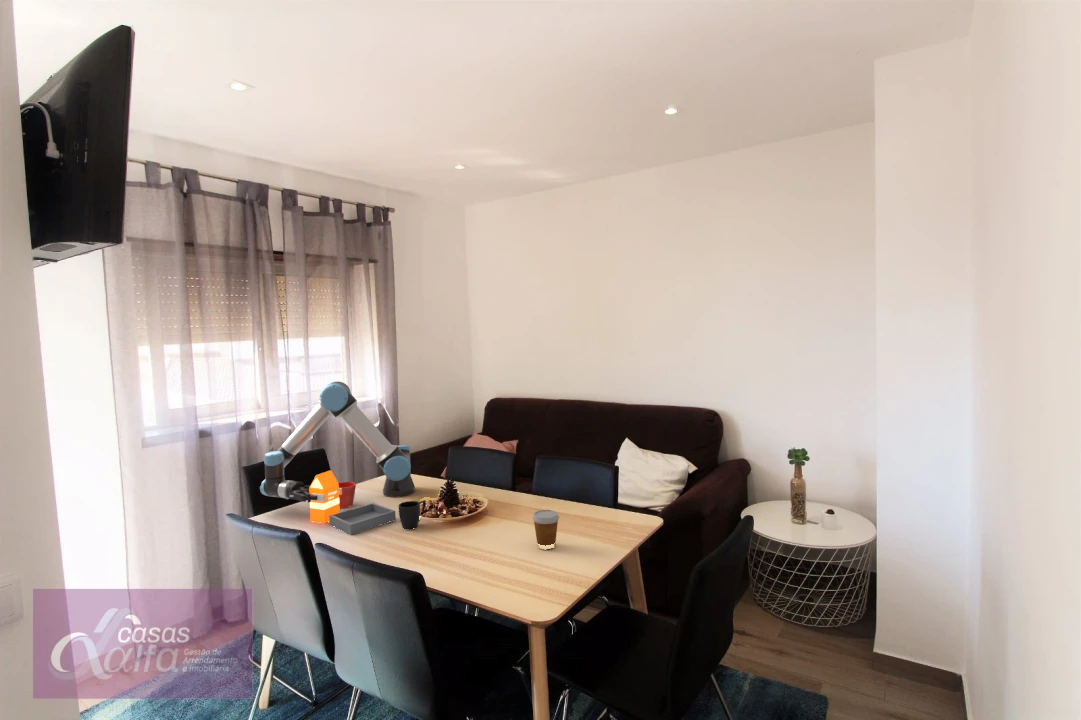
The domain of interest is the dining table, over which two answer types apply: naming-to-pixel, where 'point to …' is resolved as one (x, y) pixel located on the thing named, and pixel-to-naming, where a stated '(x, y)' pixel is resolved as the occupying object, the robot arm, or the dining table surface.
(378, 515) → the tray
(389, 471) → the robot arm
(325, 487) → the orange juice
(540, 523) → the disposable coffee cup
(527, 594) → the dining table surface
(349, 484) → the flower pot
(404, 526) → the mug
